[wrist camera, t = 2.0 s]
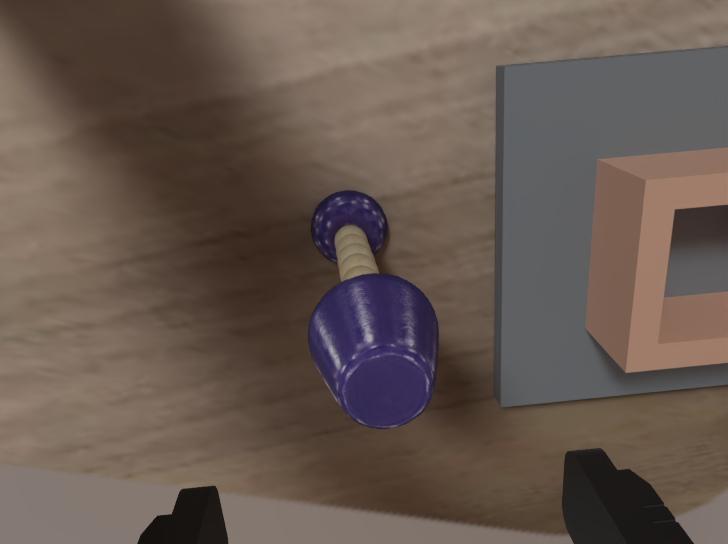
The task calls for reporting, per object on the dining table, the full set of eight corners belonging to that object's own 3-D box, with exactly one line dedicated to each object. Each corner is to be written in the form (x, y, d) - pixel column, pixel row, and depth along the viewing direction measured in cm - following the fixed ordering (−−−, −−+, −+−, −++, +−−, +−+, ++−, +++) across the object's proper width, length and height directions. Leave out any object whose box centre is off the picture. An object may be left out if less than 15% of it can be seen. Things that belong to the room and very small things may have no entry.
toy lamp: (374, 171, 31) (419, 295, 16) (410, 243, 33) (483, 418, 18) (297, 212, 32) (269, 369, 17) (336, 280, 34) (345, 481, 18)
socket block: (496, 65, 30) (539, 71, 24) (872, 33, 30) (1008, 31, 24) (494, 393, 37) (526, 461, 31) (796, 363, 38) (886, 424, 32)
